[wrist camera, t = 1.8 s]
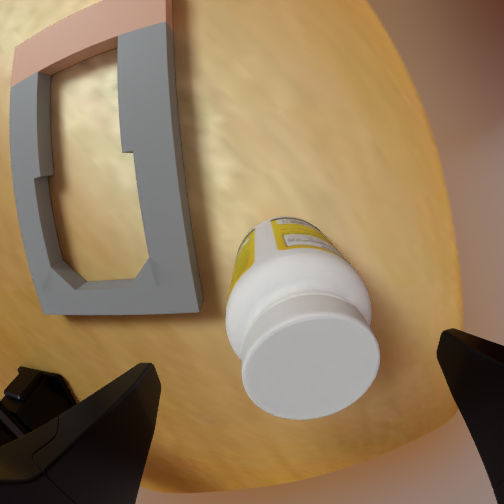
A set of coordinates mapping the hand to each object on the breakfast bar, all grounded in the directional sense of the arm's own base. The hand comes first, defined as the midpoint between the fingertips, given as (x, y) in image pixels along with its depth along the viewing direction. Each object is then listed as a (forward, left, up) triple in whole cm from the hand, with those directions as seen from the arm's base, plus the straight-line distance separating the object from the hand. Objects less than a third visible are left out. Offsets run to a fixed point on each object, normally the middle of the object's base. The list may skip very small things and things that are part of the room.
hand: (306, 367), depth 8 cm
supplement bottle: (0, 0, -10) cm, 10 cm away
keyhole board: (+8, +11, -9) cm, 17 cm away
